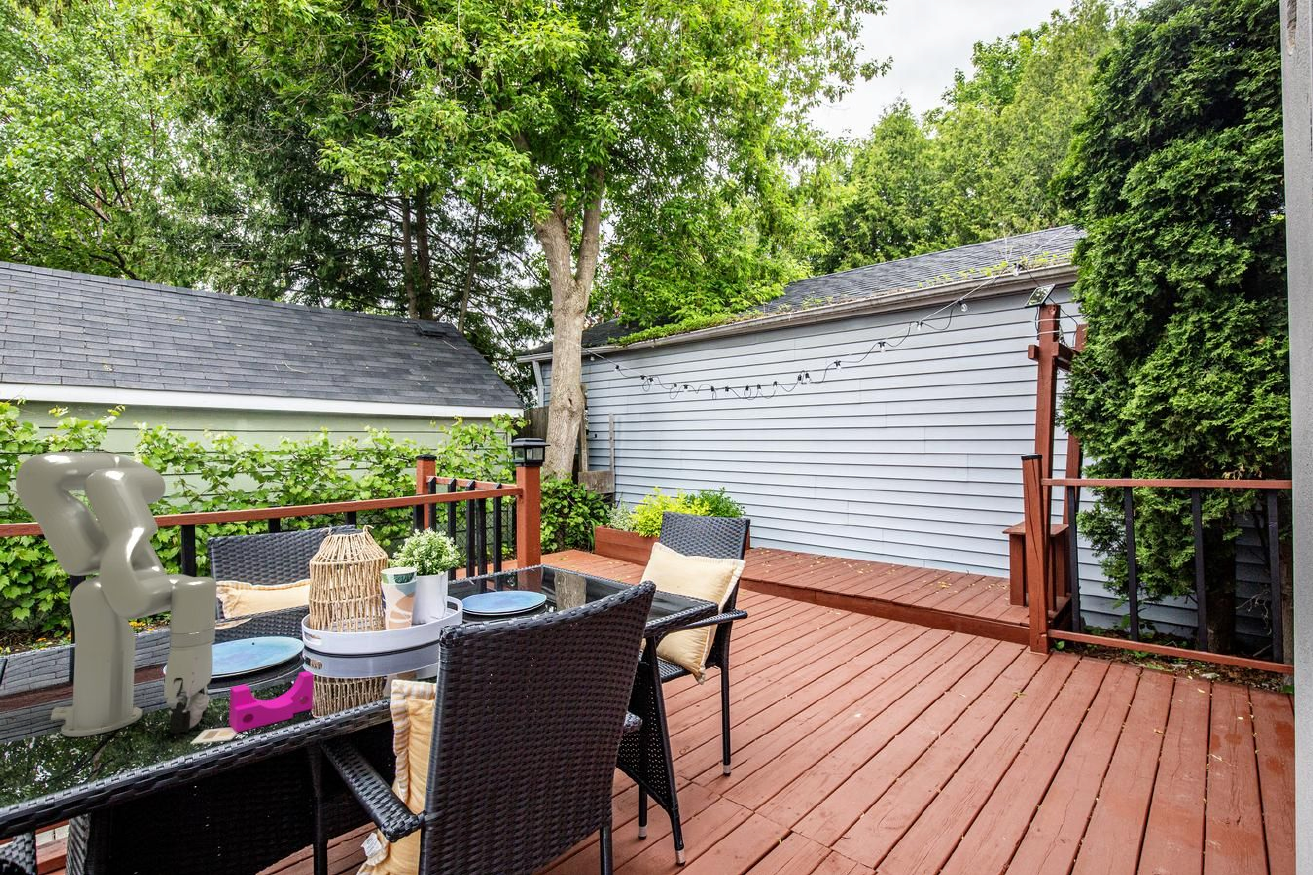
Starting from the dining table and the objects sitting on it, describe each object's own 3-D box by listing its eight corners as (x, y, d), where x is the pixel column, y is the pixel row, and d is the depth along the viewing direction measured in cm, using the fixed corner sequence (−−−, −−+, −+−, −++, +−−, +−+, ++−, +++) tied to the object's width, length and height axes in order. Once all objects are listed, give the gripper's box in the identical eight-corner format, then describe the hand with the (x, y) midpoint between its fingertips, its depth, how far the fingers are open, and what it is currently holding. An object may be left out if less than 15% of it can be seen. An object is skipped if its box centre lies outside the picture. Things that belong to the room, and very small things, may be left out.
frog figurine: (213, 726, 126) (215, 692, 126) (173, 738, 120) (174, 703, 121) (202, 718, 130) (204, 686, 130) (162, 730, 124) (163, 696, 124)
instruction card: (190, 744, 118) (190, 742, 118) (204, 730, 124) (204, 729, 124) (230, 739, 120) (230, 738, 120) (243, 727, 126) (243, 725, 126)
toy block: (236, 732, 122) (237, 695, 123) (228, 723, 127) (230, 687, 127) (316, 711, 133) (317, 677, 134) (307, 703, 138) (308, 670, 138)
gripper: (192, 627, 133) (188, 708, 132) (147, 651, 116) (143, 745, 116) (231, 625, 135) (227, 705, 134) (192, 649, 118) (188, 741, 118)
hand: (188, 723), depth 125 cm, fingers closed on frog figurine, 6 cm apart
